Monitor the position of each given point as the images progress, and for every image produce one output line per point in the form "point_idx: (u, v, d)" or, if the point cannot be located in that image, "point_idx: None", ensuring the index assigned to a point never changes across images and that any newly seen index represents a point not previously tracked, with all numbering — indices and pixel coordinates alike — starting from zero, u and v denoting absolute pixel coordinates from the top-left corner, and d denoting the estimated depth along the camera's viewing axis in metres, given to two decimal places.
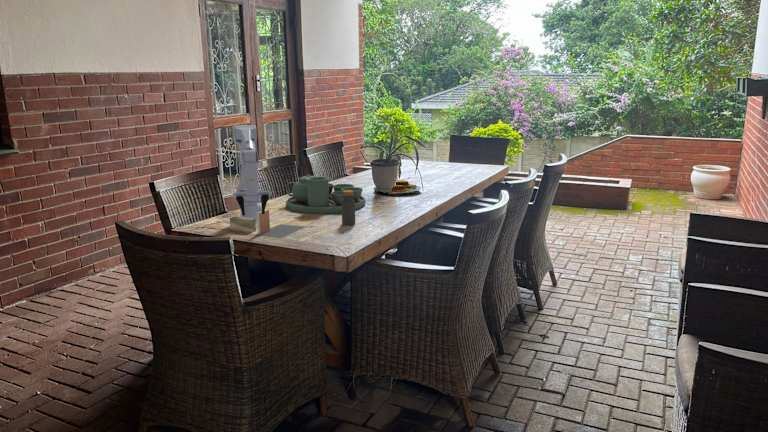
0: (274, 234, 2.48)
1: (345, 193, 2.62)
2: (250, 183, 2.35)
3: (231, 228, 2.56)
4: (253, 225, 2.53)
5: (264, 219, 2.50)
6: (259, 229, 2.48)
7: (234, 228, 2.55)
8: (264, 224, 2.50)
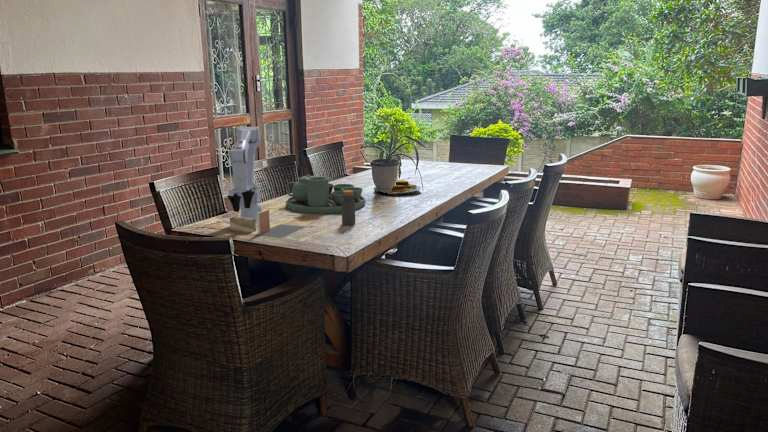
0: (274, 234, 2.48)
1: (345, 193, 2.62)
2: (244, 181, 2.49)
3: (231, 228, 2.56)
4: (253, 225, 2.53)
5: (264, 219, 2.50)
6: (259, 229, 2.48)
7: (234, 228, 2.55)
8: (264, 224, 2.50)
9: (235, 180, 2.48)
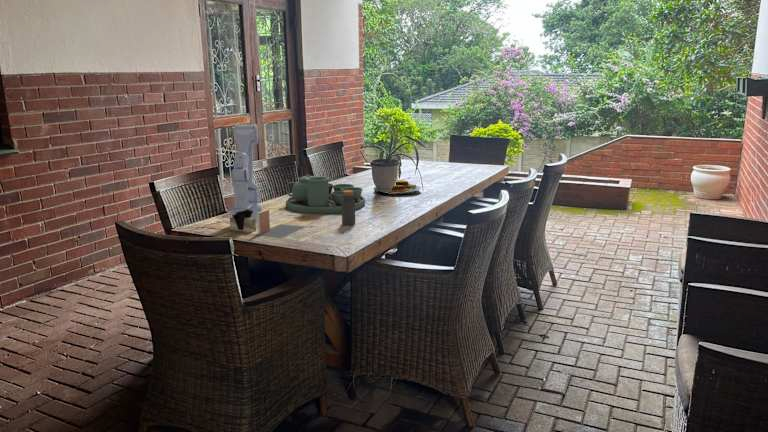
0: (274, 234, 2.48)
1: (345, 193, 2.62)
2: (245, 200, 2.51)
3: (231, 228, 2.56)
4: (253, 225, 2.53)
5: (264, 219, 2.50)
6: (259, 229, 2.48)
7: (234, 228, 2.55)
8: (264, 224, 2.50)
9: (236, 199, 2.50)
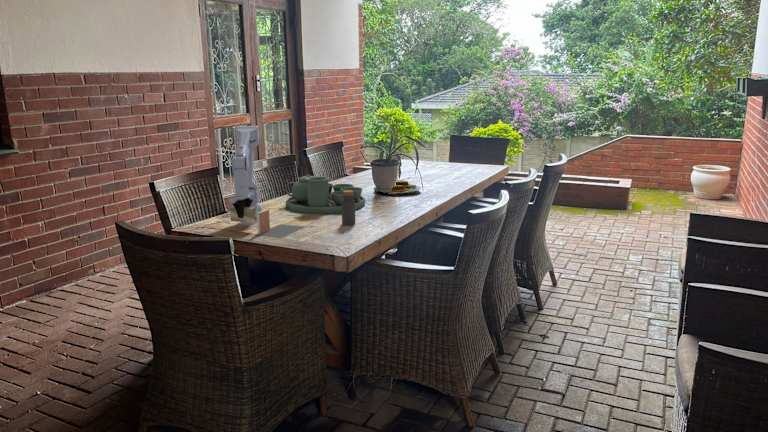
0: (274, 234, 2.48)
1: (345, 193, 2.62)
2: (245, 188, 2.50)
3: (231, 217, 2.55)
4: (253, 214, 2.52)
5: (264, 219, 2.50)
6: (259, 229, 2.48)
7: (234, 217, 2.54)
8: (264, 224, 2.50)
9: (236, 187, 2.49)
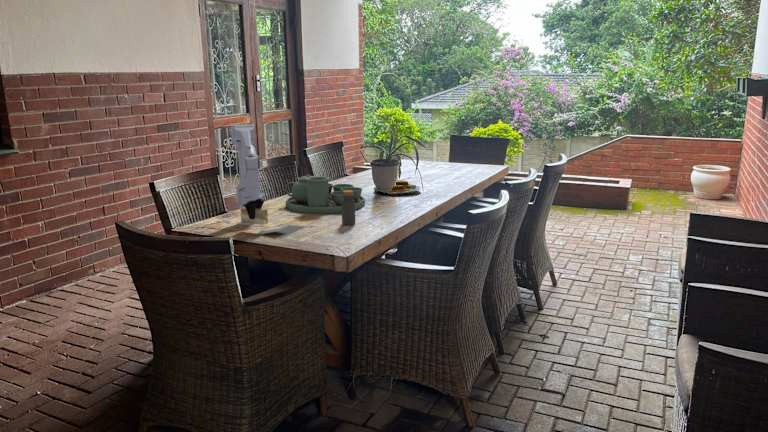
0: (274, 234, 2.48)
1: (345, 193, 2.62)
2: (257, 189, 2.48)
3: (242, 219, 2.53)
4: (265, 216, 2.49)
5: None
6: (264, 232, 2.48)
7: (245, 219, 2.52)
8: None
9: (248, 188, 2.47)
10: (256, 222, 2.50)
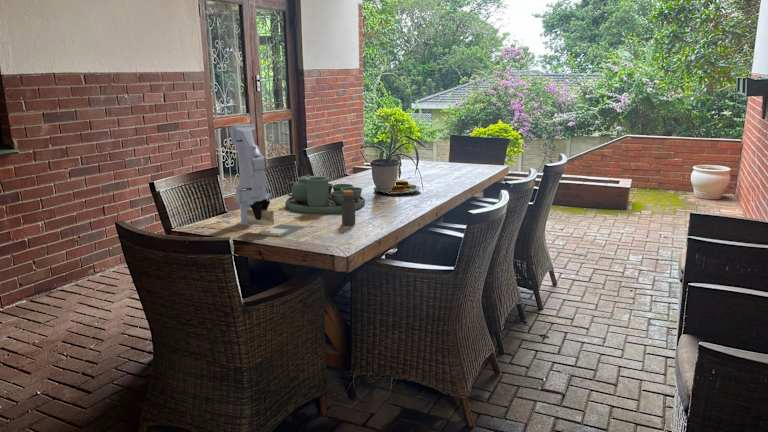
0: None
1: (345, 193, 2.62)
2: (263, 189, 2.47)
3: (248, 220, 2.52)
4: (271, 217, 2.48)
5: None
6: (265, 233, 2.47)
7: (251, 220, 2.51)
8: None
9: (254, 189, 2.46)
10: (262, 223, 2.49)
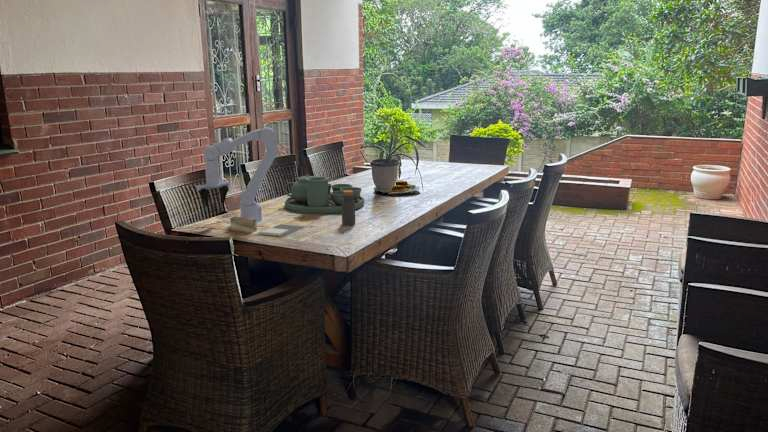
0: None
1: (345, 193, 2.62)
2: (213, 177, 2.60)
3: (232, 228, 2.56)
4: (254, 225, 2.53)
5: None
6: (265, 233, 2.47)
7: (235, 228, 2.55)
8: None
9: (206, 175, 2.61)
10: (245, 231, 2.54)
